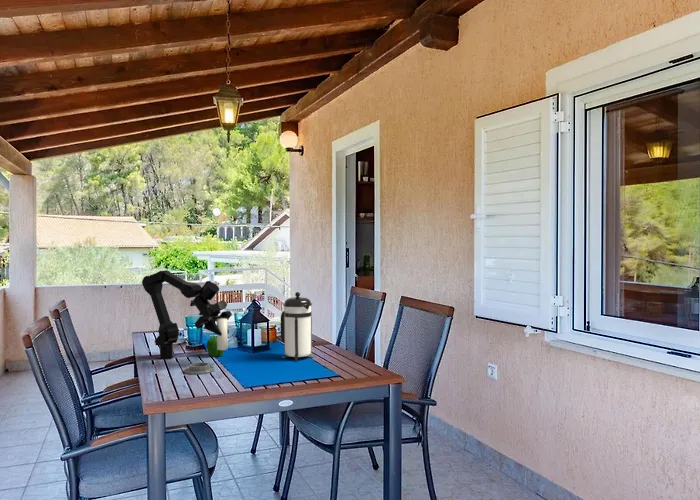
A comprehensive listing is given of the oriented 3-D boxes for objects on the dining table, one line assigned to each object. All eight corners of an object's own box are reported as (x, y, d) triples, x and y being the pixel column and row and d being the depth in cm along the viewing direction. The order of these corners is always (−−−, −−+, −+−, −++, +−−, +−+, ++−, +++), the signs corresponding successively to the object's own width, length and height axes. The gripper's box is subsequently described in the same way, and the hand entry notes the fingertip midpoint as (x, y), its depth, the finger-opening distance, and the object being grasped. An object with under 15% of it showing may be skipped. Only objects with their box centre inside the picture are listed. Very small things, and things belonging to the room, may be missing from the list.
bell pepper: (221, 353, 253) (221, 332, 252) (227, 356, 246) (227, 334, 245) (204, 355, 248) (203, 334, 248) (209, 358, 241) (209, 336, 241)
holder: (189, 367, 225) (189, 361, 225) (217, 367, 225) (217, 361, 225) (180, 374, 213) (180, 368, 213) (209, 374, 213) (209, 368, 213)
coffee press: (317, 353, 249) (316, 290, 249) (311, 361, 233) (310, 293, 233) (281, 353, 251) (280, 290, 250) (273, 361, 235) (272, 293, 234)
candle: (218, 347, 232) (218, 318, 231) (228, 347, 232) (228, 318, 231) (215, 350, 227) (215, 319, 227) (226, 350, 227) (225, 319, 227)
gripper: (199, 297, 222) (220, 325, 218) (228, 292, 239) (248, 318, 234) (185, 314, 226) (206, 342, 221) (215, 309, 243) (234, 335, 238)
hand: (224, 334), depth 229 cm, fingers closed on candle, 4 cm apart
